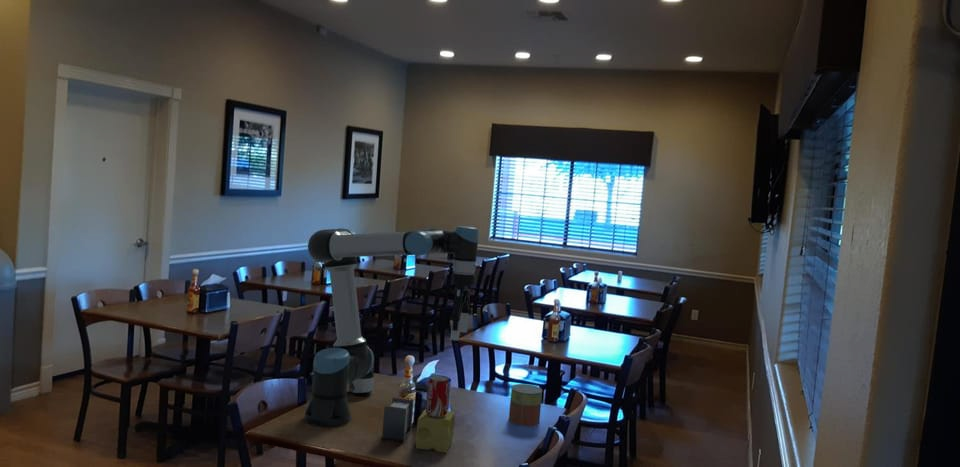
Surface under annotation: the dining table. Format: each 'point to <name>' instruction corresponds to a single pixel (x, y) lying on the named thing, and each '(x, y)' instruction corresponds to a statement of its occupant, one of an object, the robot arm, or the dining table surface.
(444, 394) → the soda can
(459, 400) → the dining table surface
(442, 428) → the cheese
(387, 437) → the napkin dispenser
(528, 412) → the canned food
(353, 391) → the spread jar
